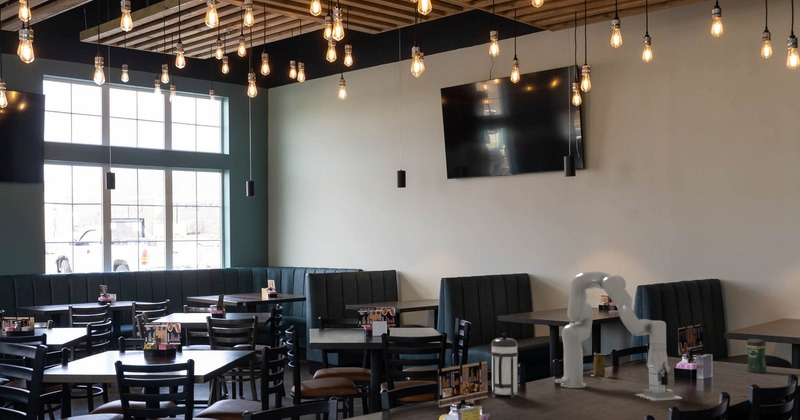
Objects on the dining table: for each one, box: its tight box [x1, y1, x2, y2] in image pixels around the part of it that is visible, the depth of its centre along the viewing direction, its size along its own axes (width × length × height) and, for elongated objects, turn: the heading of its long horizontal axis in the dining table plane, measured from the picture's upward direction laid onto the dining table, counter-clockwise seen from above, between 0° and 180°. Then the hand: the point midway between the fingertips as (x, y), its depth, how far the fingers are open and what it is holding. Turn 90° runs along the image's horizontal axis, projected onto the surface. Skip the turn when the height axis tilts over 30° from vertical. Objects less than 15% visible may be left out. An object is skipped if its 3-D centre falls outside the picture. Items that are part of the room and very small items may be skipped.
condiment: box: [590, 353, 609, 379], centre depth 448 cm, size 7×8×12 cm
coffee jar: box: [746, 338, 767, 374], centre depth 463 cm, size 10×8×19 cm
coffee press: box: [490, 332, 519, 399], centre depth 390 cm, size 17×16×30 cm
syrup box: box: [648, 365, 667, 392], centre depth 389 cm, size 6×6×14 cm
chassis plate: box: [634, 388, 683, 402], centre depth 388 cm, size 16×14×3 cm
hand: (658, 383), depth 388 cm, fingers open, 9 cm apart
